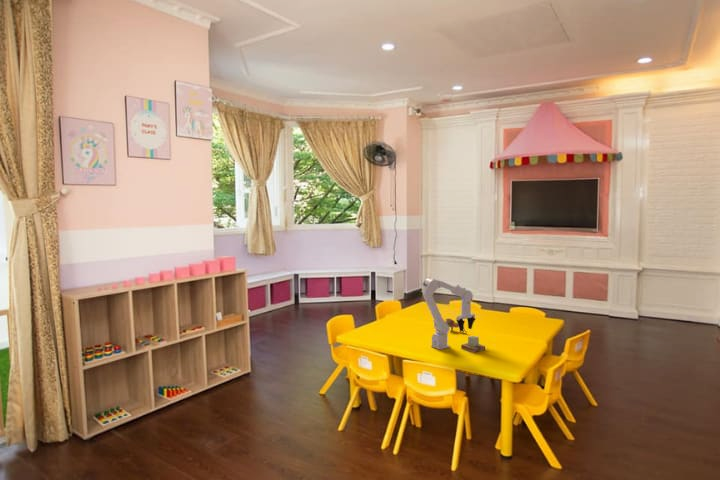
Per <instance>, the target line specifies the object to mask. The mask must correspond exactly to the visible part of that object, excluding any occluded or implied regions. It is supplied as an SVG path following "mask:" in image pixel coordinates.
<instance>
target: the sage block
mask: <svg viewBox="0 0 720 480" xmlns="http://www.w3.org/2000/svg"><path fill="white" fill-rule="evenodd" d="M479 338H480V337H479V336H475V335H471V336H467V343H468V345H470V346H473V347H475V346H478V345H479V344H480V339H479Z"/></svg>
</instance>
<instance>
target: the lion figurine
mask: <svg viewBox="0 0 720 480" xmlns="http://www.w3.org/2000/svg"><path fill="white" fill-rule="evenodd" d="M445 322H446V324H448V325H449V328H451V329H450V332H451V333H452V332H453V331H454V328H455V329H457V328H459V325H458V323H457V321H455V320H453V319H452V318H449V317H448V318H446V319H445ZM459 332H461V334H464V332H465V333H467V332H468V331H466V330H465V326H464V327H463V331H460V330H459Z"/></svg>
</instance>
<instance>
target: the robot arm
mask: <svg viewBox="0 0 720 480" xmlns="http://www.w3.org/2000/svg"><path fill="white" fill-rule="evenodd" d="M440 288H443V289H445V290H448V291H450V292H451V294H452V295H455V296H458V297H460V298H461V305H460V306H461V309H460V311H461V313H460V315H459V316H456V321H455V322H456V323H458V325H459V327H458V328H459V332H460V331H461V332H463V330H464V329H463V327H464V328H465V325H464V324H465V320H466V319H467V328H468V329H469V330H472V329H473V325H474V322H475V321H476V314H475V313H471V312H472V311H471V308H472V306H471V305H472V304H471V303H472V299H473V296H474V295H473V293H472V291H471V290H468V289H467V288H465V287H461V286H460V285H459V284H455V285H452V284H449V283H447V282H444V281H443V280H440V279H436V278H431V277H426V278H425V279H424V280H423V282H422V297H423V298H424V301H425V303H426V305H427V309H429V312H430V314H431V316H432V319H433V327H434V329H435V333H434V334H432V336H431V345H430V347H433V348H434V349H438V350H445V349H447V348H450V347H451V345H448V333H449V332H450V327H449V325H448V324H446V320H445V319H444V318H443V316H442V314H441V312H440V309H439V308H438V305H437V303H436V301H435V299H434V296H433V295H434V293H435V292H436V291H437V290H438V289H440Z"/></svg>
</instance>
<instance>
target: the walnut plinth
mask: <svg viewBox="0 0 720 480" xmlns="http://www.w3.org/2000/svg"><path fill="white" fill-rule="evenodd" d="M460 346H461V348H460V349H462V350H464V351H466V352H469V353H472V354H476V353H479V352H483V351H486V346H485V345H483V344H481V343H479V345H478V346H475V347H473V346H470V345H468V342H467V343H463V344H461V345H460Z"/></svg>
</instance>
